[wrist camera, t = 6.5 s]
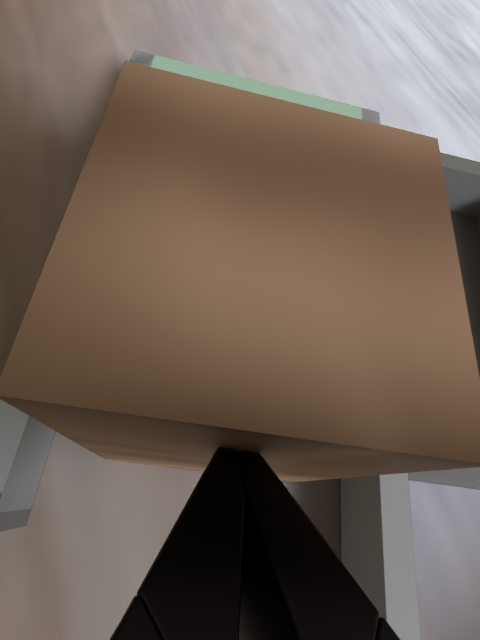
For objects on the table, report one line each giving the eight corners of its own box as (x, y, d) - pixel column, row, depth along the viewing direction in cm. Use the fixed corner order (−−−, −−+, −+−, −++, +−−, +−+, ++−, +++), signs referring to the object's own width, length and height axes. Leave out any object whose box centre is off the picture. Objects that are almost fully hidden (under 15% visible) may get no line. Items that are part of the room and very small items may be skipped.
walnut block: (290, 482, 14) (494, 465, 6) (104, 458, 14) (-7, 395, 5) (302, 204, 21) (409, -18, 12) (174, 176, 20) (183, -86, 11)
